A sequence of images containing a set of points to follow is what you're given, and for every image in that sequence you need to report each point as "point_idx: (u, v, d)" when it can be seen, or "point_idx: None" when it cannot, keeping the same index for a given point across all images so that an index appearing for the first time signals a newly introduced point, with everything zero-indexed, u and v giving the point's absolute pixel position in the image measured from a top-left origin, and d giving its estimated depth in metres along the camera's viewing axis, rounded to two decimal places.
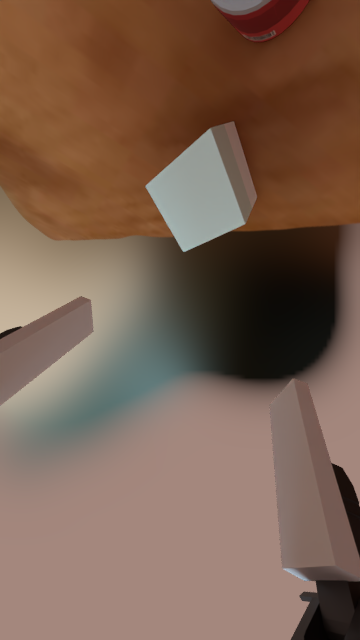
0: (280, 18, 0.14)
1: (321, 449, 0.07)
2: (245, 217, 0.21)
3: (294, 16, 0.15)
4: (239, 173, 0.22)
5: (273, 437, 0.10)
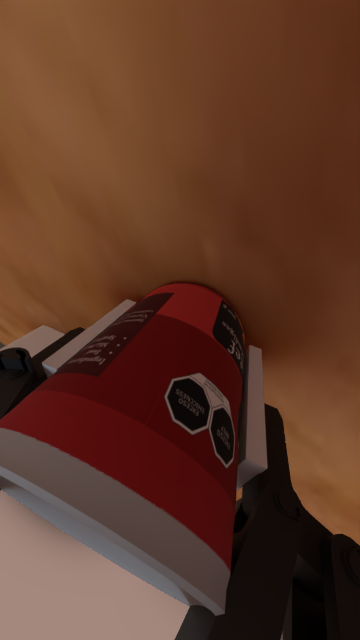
0: None
1: (259, 392, 0.09)
2: None
3: None
4: None
5: None
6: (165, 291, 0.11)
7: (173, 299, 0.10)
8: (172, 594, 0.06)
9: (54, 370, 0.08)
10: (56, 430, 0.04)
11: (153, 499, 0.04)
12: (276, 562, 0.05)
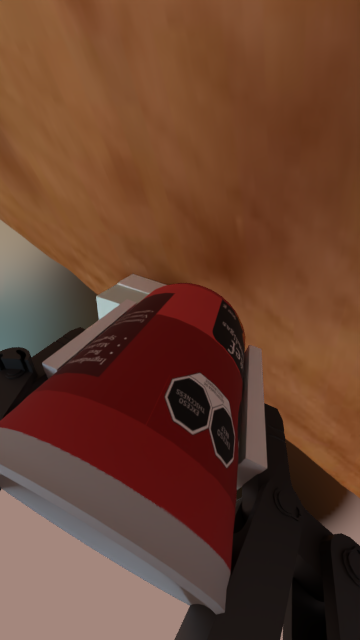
0: None
1: (258, 392, 0.09)
2: None
3: None
4: None
5: None
6: (165, 291, 0.11)
7: (174, 299, 0.10)
8: (172, 593, 0.06)
9: (54, 370, 0.08)
10: (57, 431, 0.04)
11: (154, 498, 0.04)
12: (276, 562, 0.05)
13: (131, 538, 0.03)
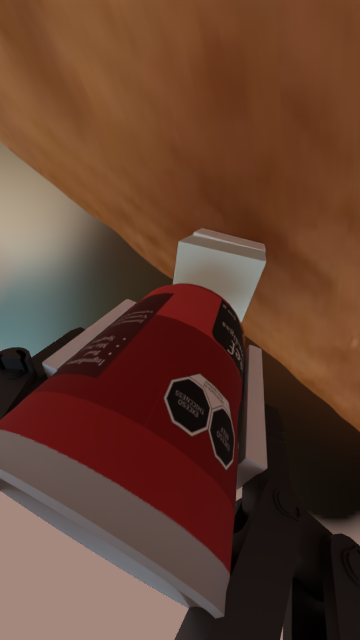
0: None
1: (258, 392, 0.09)
2: None
3: None
4: None
5: None
6: (165, 291, 0.11)
7: (173, 299, 0.10)
8: (171, 596, 0.06)
9: (54, 370, 0.08)
10: (55, 432, 0.04)
11: (152, 501, 0.04)
12: (276, 562, 0.05)
13: (129, 542, 0.03)
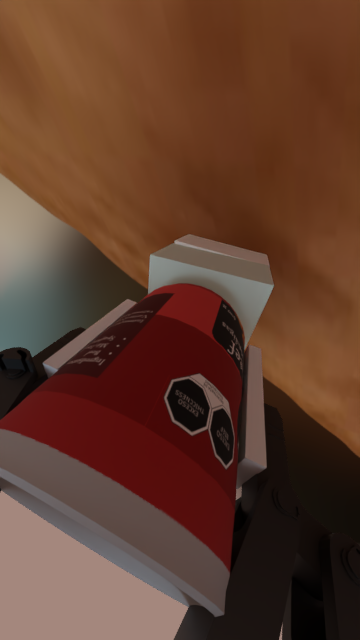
0: None
1: (258, 391, 0.09)
2: None
3: None
4: None
5: None
6: (165, 291, 0.11)
7: (173, 299, 0.10)
8: (172, 595, 0.06)
9: (55, 370, 0.08)
10: (55, 432, 0.04)
11: (153, 500, 0.04)
12: (275, 560, 0.05)
13: (129, 541, 0.03)
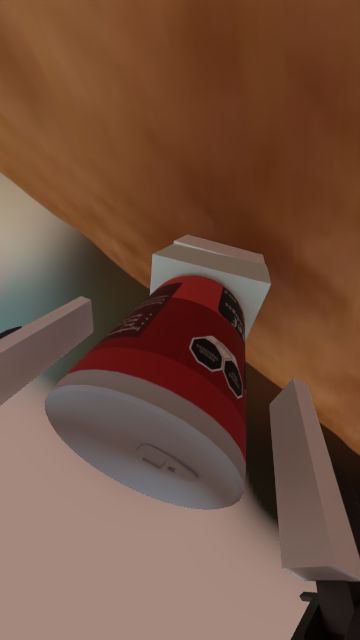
0: None
1: (321, 449, 0.07)
2: None
3: None
4: None
5: (274, 437, 0.10)
6: (175, 282, 0.13)
7: (183, 286, 0.11)
8: (201, 506, 0.08)
9: None
10: (120, 365, 0.06)
11: (191, 400, 0.05)
12: None
13: (181, 418, 0.05)
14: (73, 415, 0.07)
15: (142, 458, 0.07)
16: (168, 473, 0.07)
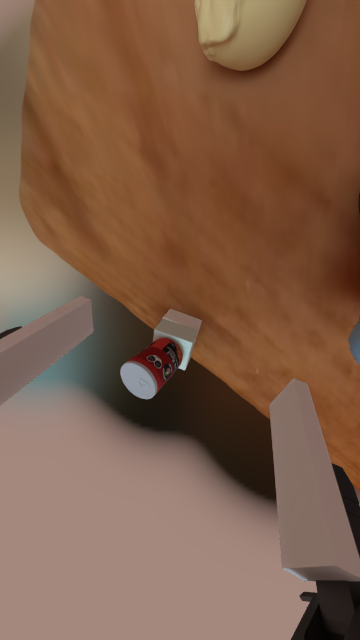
0: None
1: (321, 449, 0.07)
2: (186, 366, 0.45)
3: None
4: (193, 345, 0.46)
5: (274, 437, 0.10)
6: (155, 341, 0.40)
7: (155, 342, 0.39)
8: (151, 395, 0.33)
9: None
10: (133, 360, 0.33)
11: (143, 364, 0.32)
12: None
13: (140, 366, 0.32)
14: (125, 373, 0.35)
15: (139, 383, 0.34)
16: (144, 386, 0.33)
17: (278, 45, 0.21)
